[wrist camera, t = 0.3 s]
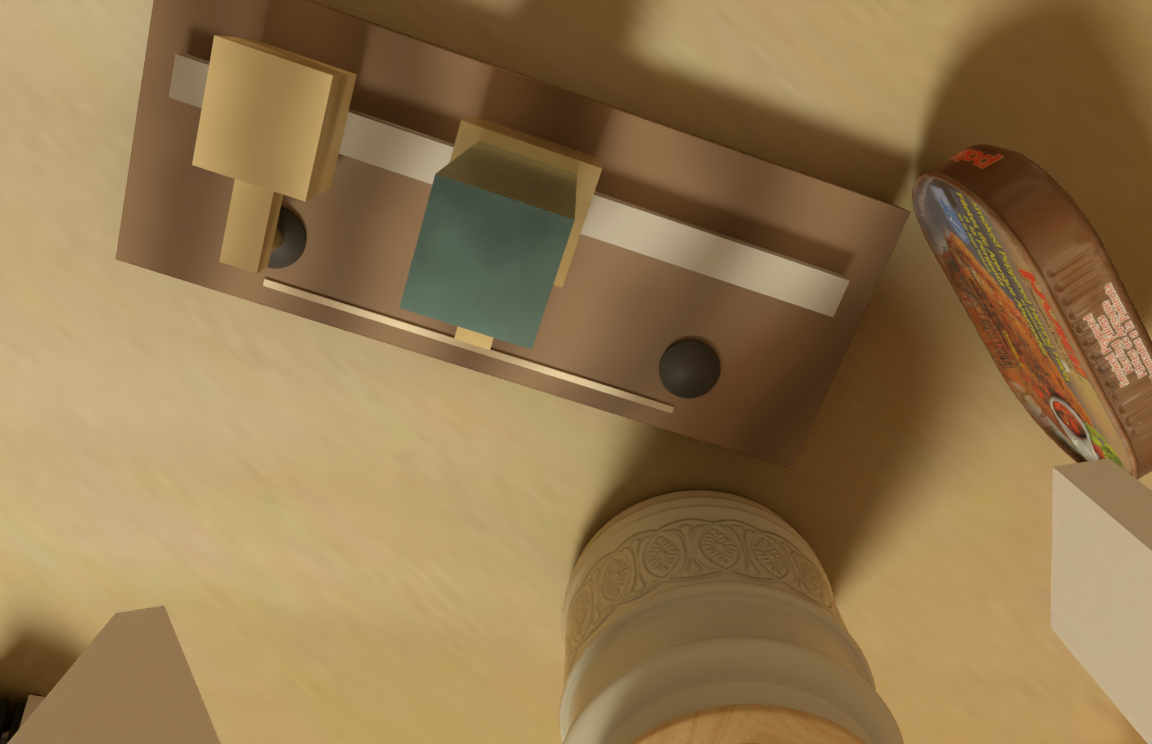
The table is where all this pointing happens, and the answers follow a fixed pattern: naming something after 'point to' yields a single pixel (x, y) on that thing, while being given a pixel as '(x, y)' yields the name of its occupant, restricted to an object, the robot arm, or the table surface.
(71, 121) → the table surface
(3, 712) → the hinge
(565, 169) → the slider
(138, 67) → the table surface
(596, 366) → the gauge board
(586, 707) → the jar
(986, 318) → the tin
